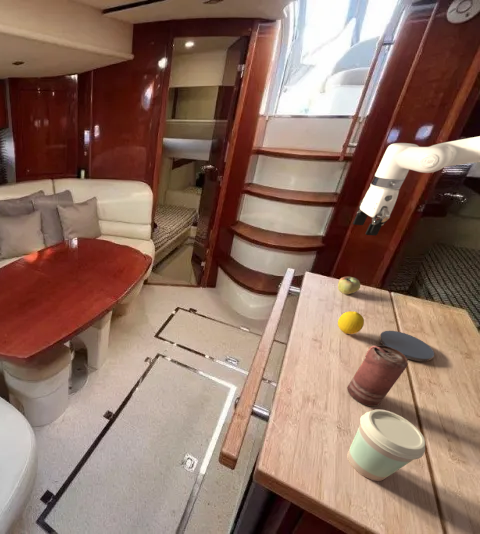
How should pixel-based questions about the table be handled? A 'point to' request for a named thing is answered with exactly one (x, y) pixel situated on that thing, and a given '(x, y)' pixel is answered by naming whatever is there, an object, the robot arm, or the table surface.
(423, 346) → the plate
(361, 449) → the coffee cup
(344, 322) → the lemon
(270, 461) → the table surface
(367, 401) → the can
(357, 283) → the apple
